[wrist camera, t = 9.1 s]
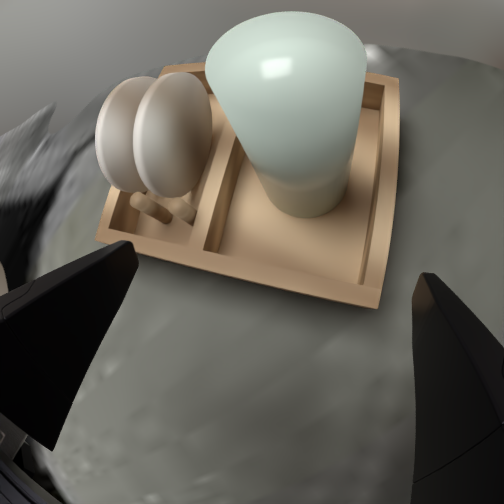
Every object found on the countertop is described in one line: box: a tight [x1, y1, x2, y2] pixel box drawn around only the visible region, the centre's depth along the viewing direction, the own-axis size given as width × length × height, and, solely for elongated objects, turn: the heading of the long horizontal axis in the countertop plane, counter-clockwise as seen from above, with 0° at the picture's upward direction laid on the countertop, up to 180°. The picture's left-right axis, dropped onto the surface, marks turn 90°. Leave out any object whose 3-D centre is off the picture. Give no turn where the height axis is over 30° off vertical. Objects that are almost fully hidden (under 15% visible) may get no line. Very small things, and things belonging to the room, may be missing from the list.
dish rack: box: [95, 62, 400, 309], centre depth 16 cm, size 15×18×9 cm
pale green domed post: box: [205, 12, 367, 218], centre depth 14 cm, size 6×6×11 cm
